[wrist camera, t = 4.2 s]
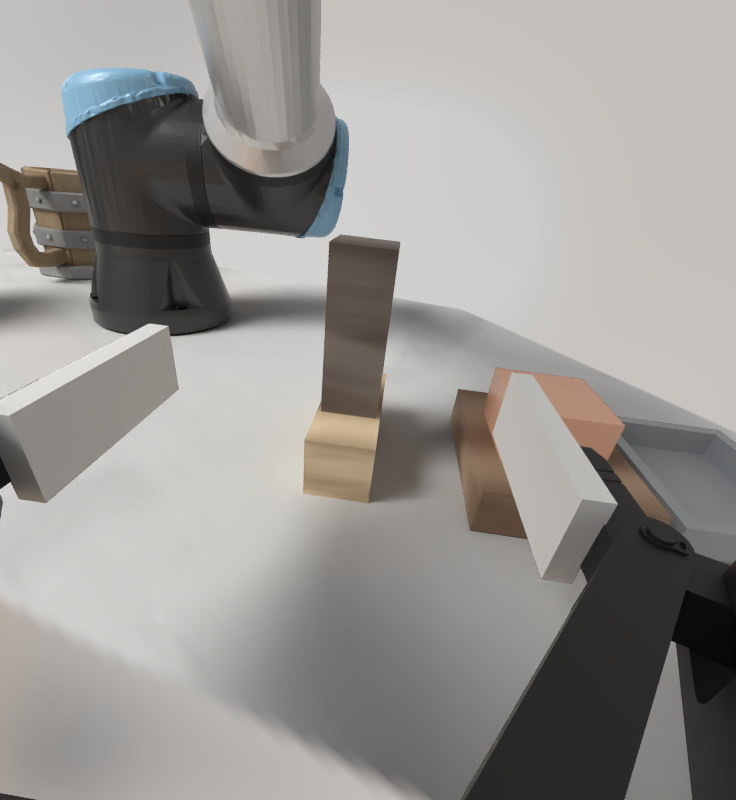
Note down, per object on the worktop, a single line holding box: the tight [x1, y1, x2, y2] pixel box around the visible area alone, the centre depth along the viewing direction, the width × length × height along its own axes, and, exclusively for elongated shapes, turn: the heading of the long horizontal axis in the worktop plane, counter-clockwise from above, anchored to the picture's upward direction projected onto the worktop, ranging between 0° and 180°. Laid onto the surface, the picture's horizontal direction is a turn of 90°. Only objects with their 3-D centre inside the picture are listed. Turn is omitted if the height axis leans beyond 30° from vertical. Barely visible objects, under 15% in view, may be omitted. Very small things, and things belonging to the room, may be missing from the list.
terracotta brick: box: [483, 368, 625, 461], centre depth 25 cm, size 6×6×4 cm
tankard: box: [0, 163, 96, 280], centre depth 55 cm, size 20×13×15 cm, turn 170°
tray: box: [615, 416, 736, 565], centre depth 26 cm, size 12×10×2 cm
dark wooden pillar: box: [303, 235, 400, 503], centre depth 24 cm, size 10×4×14 cm, turn 174°
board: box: [451, 389, 673, 539], centre depth 26 cm, size 12×10×3 cm
